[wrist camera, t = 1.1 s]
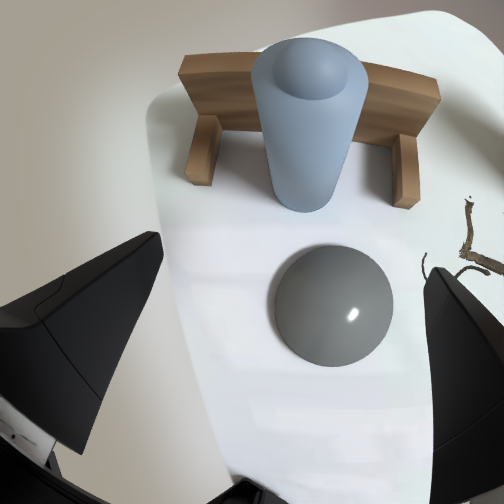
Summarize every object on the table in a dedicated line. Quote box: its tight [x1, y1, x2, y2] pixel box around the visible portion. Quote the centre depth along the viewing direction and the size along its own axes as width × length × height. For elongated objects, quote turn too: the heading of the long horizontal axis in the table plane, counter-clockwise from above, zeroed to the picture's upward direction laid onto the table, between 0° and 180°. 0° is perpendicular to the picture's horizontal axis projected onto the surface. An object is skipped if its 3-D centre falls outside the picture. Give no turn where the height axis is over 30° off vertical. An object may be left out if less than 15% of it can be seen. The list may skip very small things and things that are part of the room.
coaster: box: [275, 246, 393, 367], centre depth 21 cm, size 9×9×1 cm
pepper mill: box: [251, 38, 369, 213], centre depth 16 cm, size 5×5×15 cm
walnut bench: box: [178, 52, 441, 209], centre depth 20 cm, size 8×18×8 cm, turn 82°
